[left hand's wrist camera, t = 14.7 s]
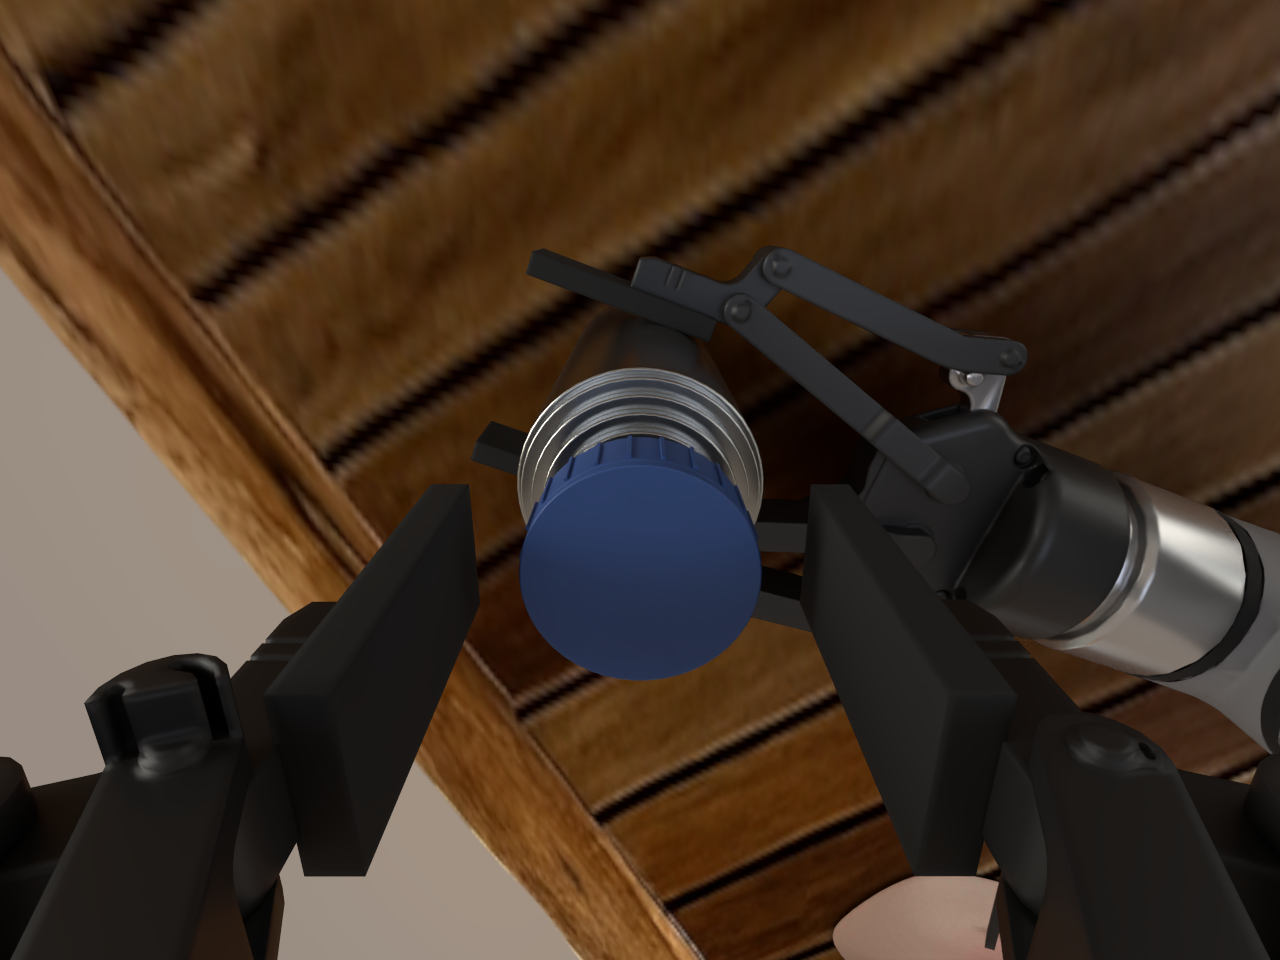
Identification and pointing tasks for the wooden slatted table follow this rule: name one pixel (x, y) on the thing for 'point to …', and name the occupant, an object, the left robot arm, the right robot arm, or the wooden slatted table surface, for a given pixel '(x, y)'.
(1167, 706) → the wooden slatted table surface
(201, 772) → the left robot arm
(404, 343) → the wooden slatted table surface
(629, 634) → the cap
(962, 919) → the anatomical model
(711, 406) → the bottle
